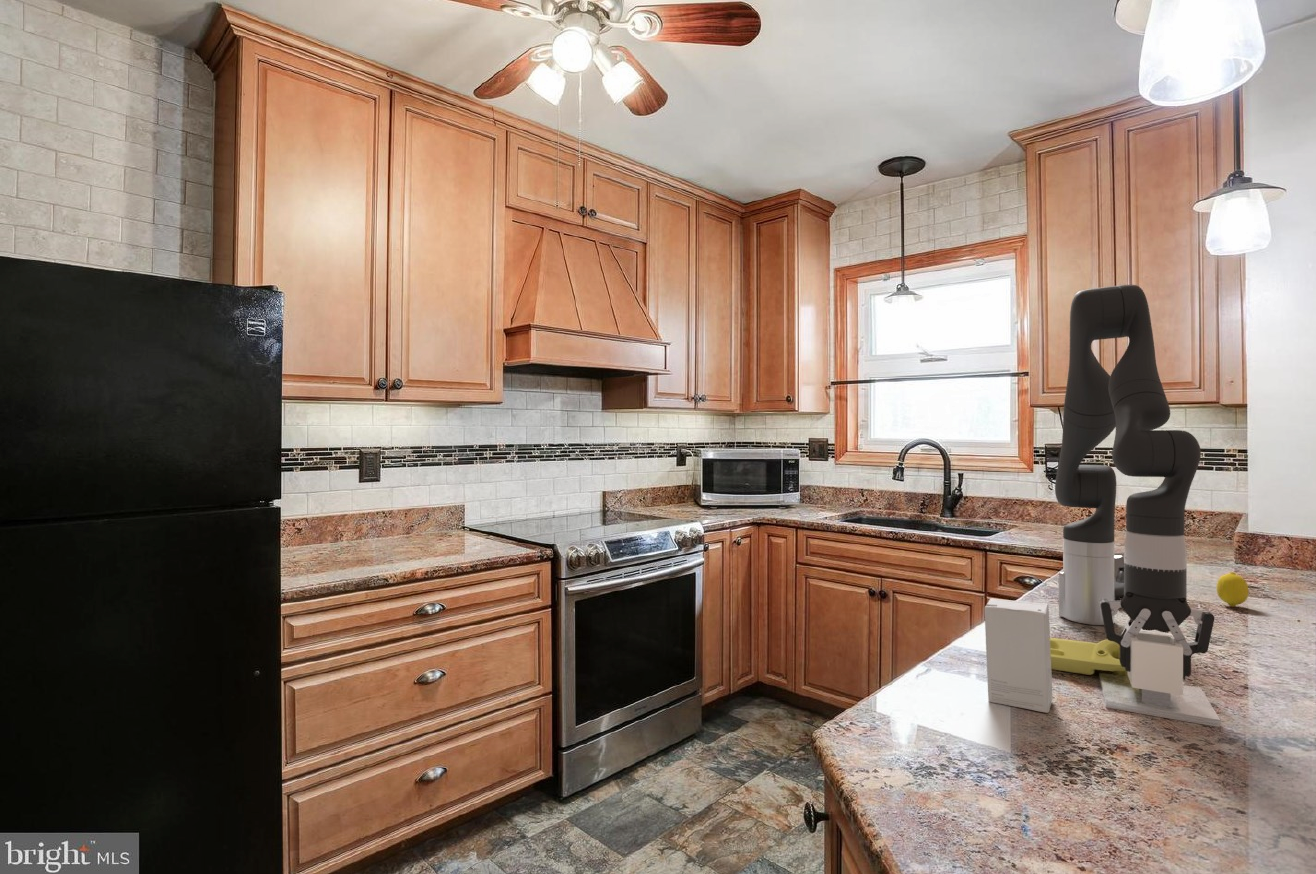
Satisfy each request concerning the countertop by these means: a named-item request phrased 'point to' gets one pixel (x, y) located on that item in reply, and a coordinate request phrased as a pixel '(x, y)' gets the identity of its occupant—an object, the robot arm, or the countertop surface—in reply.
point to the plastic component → (1085, 656)
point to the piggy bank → (1118, 575)
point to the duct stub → (1158, 701)
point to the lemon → (1232, 589)
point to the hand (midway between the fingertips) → (1154, 673)
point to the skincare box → (1018, 654)
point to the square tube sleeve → (1156, 663)
